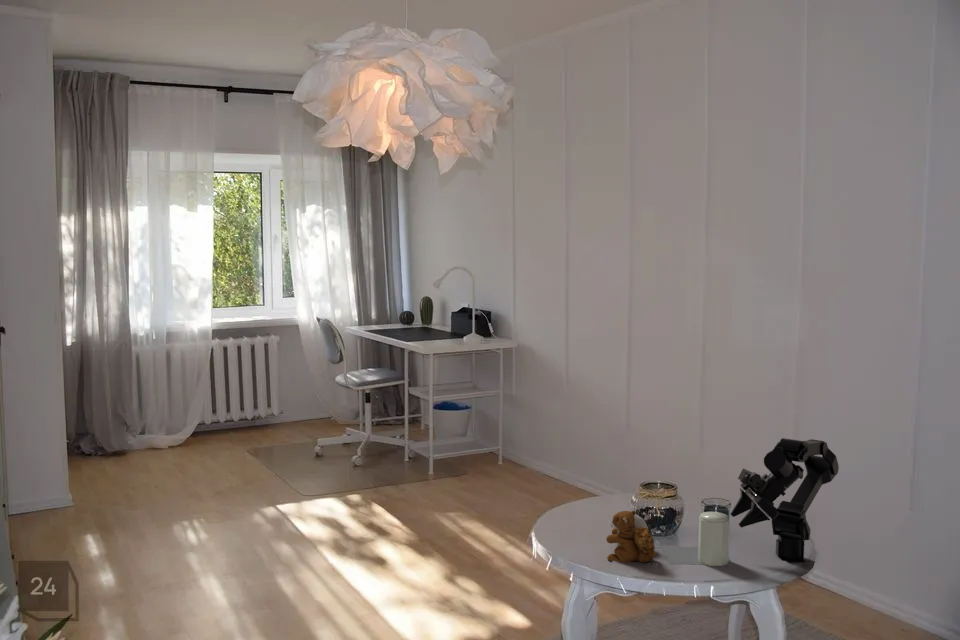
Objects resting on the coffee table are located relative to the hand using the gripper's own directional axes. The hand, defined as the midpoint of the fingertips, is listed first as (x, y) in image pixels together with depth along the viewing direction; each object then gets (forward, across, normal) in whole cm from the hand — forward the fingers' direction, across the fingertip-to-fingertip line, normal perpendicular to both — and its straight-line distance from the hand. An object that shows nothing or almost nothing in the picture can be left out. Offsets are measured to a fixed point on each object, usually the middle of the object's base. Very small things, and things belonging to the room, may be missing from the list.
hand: (735, 520), depth 242 cm
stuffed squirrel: (+28, 0, -11) cm, 30 cm away
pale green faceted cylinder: (+12, 0, +4) cm, 13 cm away
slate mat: (+15, -4, +1) cm, 15 cm away
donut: (+27, -10, -11) cm, 31 cm away
